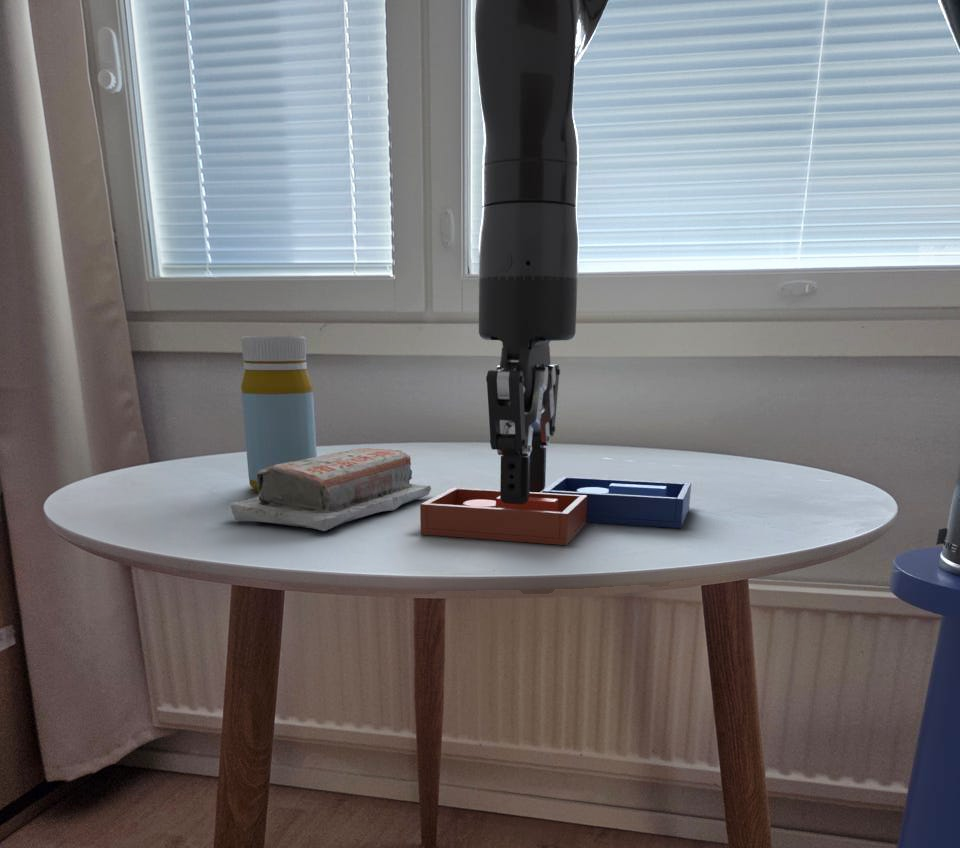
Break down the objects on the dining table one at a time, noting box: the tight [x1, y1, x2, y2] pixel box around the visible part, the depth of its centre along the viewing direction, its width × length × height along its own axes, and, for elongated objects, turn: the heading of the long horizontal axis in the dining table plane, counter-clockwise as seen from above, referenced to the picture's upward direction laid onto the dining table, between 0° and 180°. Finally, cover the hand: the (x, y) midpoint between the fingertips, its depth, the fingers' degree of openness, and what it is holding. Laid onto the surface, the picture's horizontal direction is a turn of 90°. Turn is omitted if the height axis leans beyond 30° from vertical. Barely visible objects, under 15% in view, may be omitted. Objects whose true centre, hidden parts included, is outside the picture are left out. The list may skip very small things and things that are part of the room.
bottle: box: [240, 335, 318, 493], centre depth 88 cm, size 7×7×15 cm
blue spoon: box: [577, 483, 667, 497], centre depth 79 cm, size 8×3×2 cm, turn 73°
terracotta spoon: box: [463, 496, 558, 512], centre depth 73 cm, size 8×3×2 cm, turn 73°
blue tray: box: [541, 476, 692, 529], centre depth 79 cm, size 12×8×2 cm
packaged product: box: [229, 447, 432, 532], centre depth 80 cm, size 18×5×10 cm
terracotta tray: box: [419, 487, 587, 546], centre depth 73 cm, size 12×8×2 cm
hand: (523, 495), depth 72 cm, fingers open, 5 cm apart
